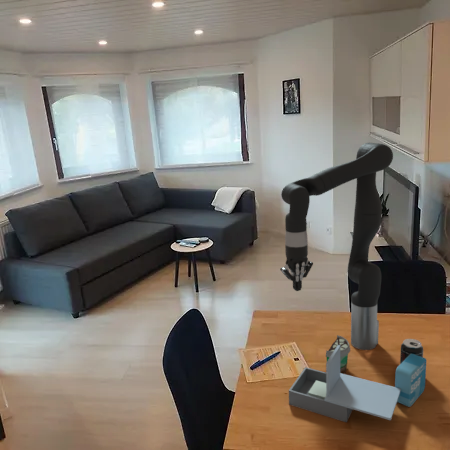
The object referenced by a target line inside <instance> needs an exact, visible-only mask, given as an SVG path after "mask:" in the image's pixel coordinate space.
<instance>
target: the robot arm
mask: <svg viewBox="0 0 450 450" xmlns="http://www.w3.org/2000/svg"><path fill="white" fill-rule="evenodd" d="M393 159H394V152H393V150H392V149H391V147H390V146H388V145H387V144H384V143H377V142H376V143H375V142H364V143H363V144H361V145H360V147H359V148H358V150H357V152H356V159H354V160H350V161H348V162H345V163H344V162H343V163H341V164H337V165H334V166H331V167H328V168H325V169H322V170H320V171H319V172H317V173H314V174H313V175H310V176H309V177H308V176H307V177H305V178H301V179H297V180H295V181H292V182H290V183H288V184H286V185H285V186H284V187H283V188H282V190H281V194H280V195H281V196H280V197H281V199H282V201H283V202H285V204H288V205H289V211H288V213H287V214H286V215H285V217H284V218H285V221H284V222H285V235H284V241H285V242H284V243H285V244H284V245H285V249H284V250H285V257H286V260H285V265H284V266H283V267H280V271H281V272H282V274H283V275H284V276H285V277H286V278H287V279H288V280H289V281H291V282H292V288H293V290H294V291H296V292H299V291H302V288H303V285H302V283H303V279H304V278H307V277H308V274H309V273H310V271H311V269H312V267H313V266H314V262H313V261H311V260H309V259H308V254H309V252H308V251H309V249H308V248H309V247H308V246H309V245H308V244H309V243H308V231H307V227H308V226H307V225H308V223H307V217H308V212H309V208H310V207H309V206H310V202H311V201H310V199H311V198H310V197H311V196H314V197H315V196H321V195H324V194H325V193H327V192H329V191H332V190H333V189H336V188H337V187H339V186H342V185H345V184H346V183H348V182H350V181H354V180H355V179H356V188H355V189H356V190H355V203H354V213H353V230H352V240H351V248H350V254H349V258H348V259H349V260H348V264H347V275H348V278H349V279H350V280H351V281H352V282H353V283H355V284H357V285H358V290H357V291H354V292H353V293H352V294H351V299H350V300H351V303H350V305H351V308H350V313H351V314H350V345H351V346H353V347H354V348H355V349H358V350H362V351H368V350H369V351H370V350H373V349H375V348H376V346H377V345H378V344H379V325H380V324H379V323H380V322H379V320H378V300H379V297H380V295H381V287H382V286H381V285H382V271H381V268H380V267H379V266H378V265H377V264H376V263H373V262H371V261H369V252H370V246H371V243H372V242H373V240H374V239H375V237H376V235H377V234H378V232H379V230H380V228H381V223H382V213H383V206H382V201H381V197H380V195H379V192H378V188H377V179H376V178H377V172H382V171H383V170H386V169H387V168H388V167H390V165H391V164H392V162H393Z"/></svg>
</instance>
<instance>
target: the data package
mask: <svg viewBox="0 0 450 450" xmlns="http://www.w3.org/2000/svg"><path fill="white" fill-rule="evenodd" d="M394 375H395V377H394V379H395V380H394V387H396V388H400V389H401V392H400V395H399V398H398V400H397V403H398V404H401V405H403V406H406V407H409V408H410V407H412V406H413V404H414V403H416V401H417V400H418V399H419V398H420V396H421V395H422V394H423V393H424V391H425V388H426V375H427V358H426V357H424V356H423V357H420V356H417V355H414V354H410V355H409V356H408V357H407V358H406V359H405V360H404V361H403V362H402V363H401V364H399V365H397V367H396V369H395V374H394Z"/></svg>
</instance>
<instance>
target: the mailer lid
mask: <svg viewBox="0 0 450 450" xmlns="http://www.w3.org/2000/svg"><path fill="white" fill-rule="evenodd" d="M325 366H326V367H325V369H326V370H325V371H326V397H325V399H324V401H326V402H330V403H333V404H336V405H340V406H343V407H347V408H350V409H353V411H354V410H355V411H358V412H361V413H364V414H368V415H371V416H374V417H379V418H380V419H385V420H388V421H392V418H393V415H394V412H395V409H396V406H397V403H398V402H397V400H398V398H399V395H400V392H401V389H400V388H396V387H395V386H392V385H388V384H385V383H381V382H377V381H372V380H369V379H364V378H361V377H357V376H352V375H350V374H346V373H344V374H342V373H340V345H337V347H336V349H335V350H334V352H333V353H332V355H331V356H330V358H329V359H328V361H327V360H326V364H325Z"/></svg>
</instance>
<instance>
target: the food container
mask: <svg viewBox="0 0 450 450" xmlns="http://www.w3.org/2000/svg"><path fill="white" fill-rule="evenodd" d="M337 345H340V373H342V374H346V372H347V367H348V358H349V357H348V356H349V353H350V352H351V344H350V343H349V341H348V340H347V338H345V337H344V336H342V335H336V339H335V340H334V342H333V343H332V344H331V346H330V348H328V350H325V357H326V362H327V361H328V359H329V358H330V356H331V355H332V353H333V352H334V350H335V349H336V347H337Z"/></svg>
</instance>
